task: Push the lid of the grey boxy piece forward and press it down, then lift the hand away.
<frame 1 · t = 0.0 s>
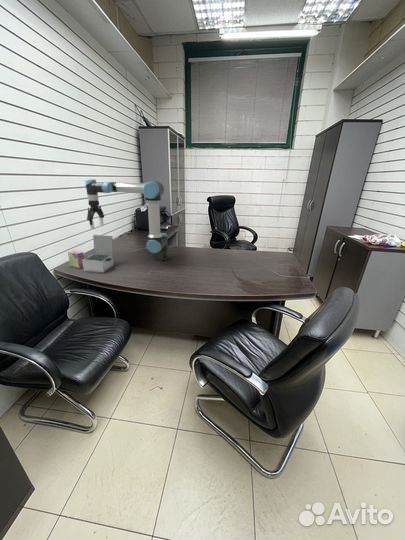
hand: (97, 227, 180), 28 cm above the table, fingers open, 13 cm apart
lid: (103, 244, 176), point 16 cm above the table, hinge at 100.0°
grey boxy piece: (99, 268, 172), on the table
box: (78, 266, 175), on the table
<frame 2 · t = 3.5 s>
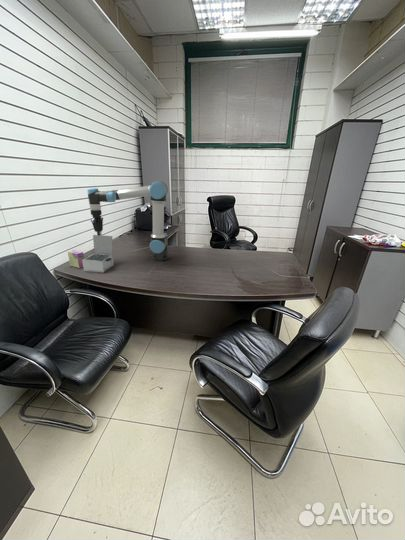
hand: (100, 239, 177), 20 cm above the table, fingers closed
lid: (103, 244, 175), point 16 cm above the table, hinge at 99.2°, touching gripper
everything else where it was.
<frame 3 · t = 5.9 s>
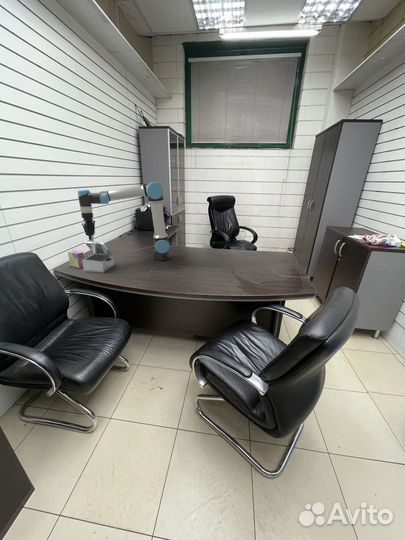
hand: (92, 243, 167), 19 cm above the table, fingers closed
lid: (99, 247, 170), point 16 cm above the table, hinge at 50.9°, touching gripper
everything else where it was.
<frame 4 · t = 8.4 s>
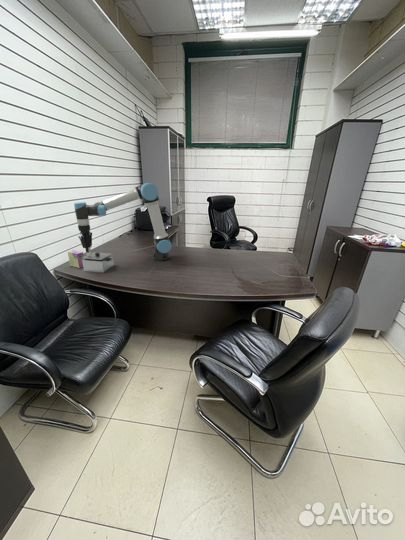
hand: (89, 255, 165), 11 cm above the table, fingers closed
lid: (97, 254, 168), point 11 cm above the table, hinge at 3.8°, touching gripper
everything else where it was.
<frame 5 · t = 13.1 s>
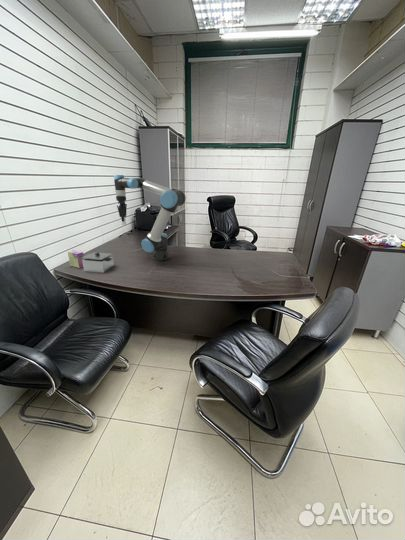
hand: (124, 224, 185), 29 cm above the table, fingers closed
lid: (97, 254, 168), point 11 cm above the table, hinge at 3.8°
everything else where it was.
at the end: lid at +4° (first picture: +100°); box moved 0.3 cm from its start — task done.
